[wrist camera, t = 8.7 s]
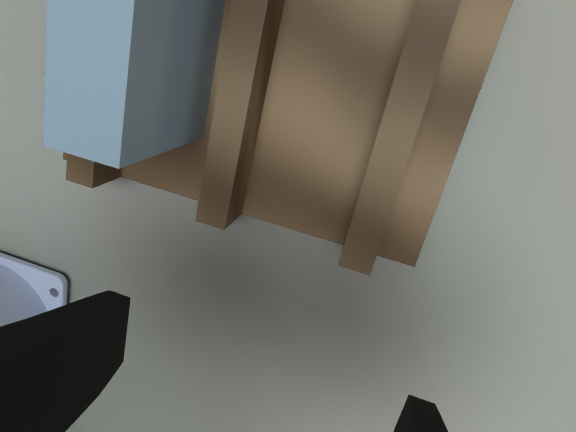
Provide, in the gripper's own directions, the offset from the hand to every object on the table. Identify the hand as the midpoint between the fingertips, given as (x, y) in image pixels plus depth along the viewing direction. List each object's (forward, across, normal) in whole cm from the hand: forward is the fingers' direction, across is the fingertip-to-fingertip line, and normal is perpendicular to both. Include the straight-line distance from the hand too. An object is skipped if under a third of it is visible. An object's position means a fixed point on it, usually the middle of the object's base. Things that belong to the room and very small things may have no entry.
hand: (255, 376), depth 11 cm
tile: (+8, +7, -8) cm, 13 cm away
